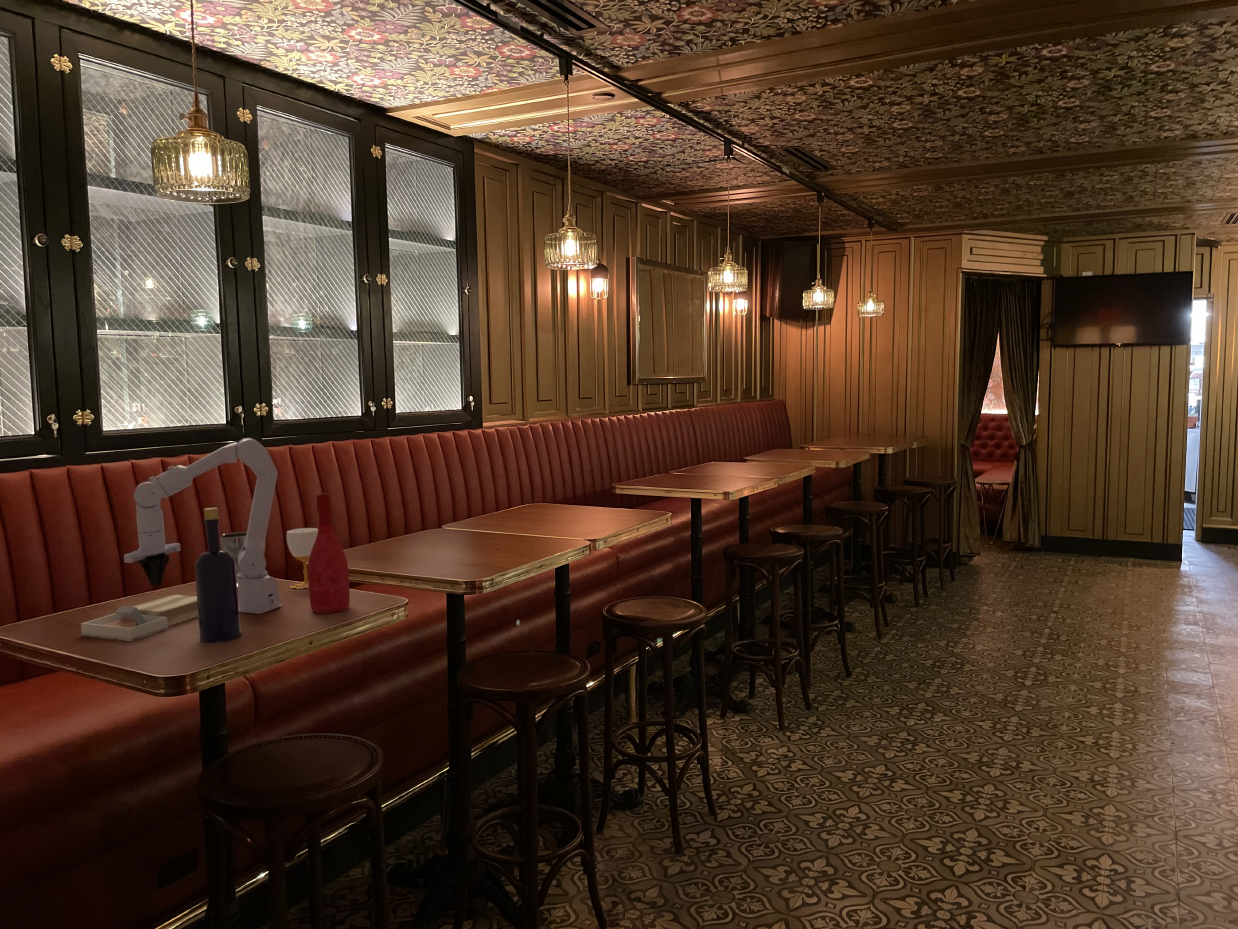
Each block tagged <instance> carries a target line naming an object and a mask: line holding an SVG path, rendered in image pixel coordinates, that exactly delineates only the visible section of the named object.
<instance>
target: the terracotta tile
mask: <svg viewBox="0 0 1238 929" xmlns="http://www.w3.org/2000/svg"><path fill="white" fill-rule="evenodd" d="M105 625H108V626H117V627H127V628H132V627H135V626H136V621H127V620H118V621H115V622H112V623H108V624H105Z"/></svg>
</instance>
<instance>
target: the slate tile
mask: <svg viewBox="0 0 1238 929" xmlns="http://www.w3.org/2000/svg"><path fill="white" fill-rule="evenodd" d="M115 613H117V615H118V616H119V618H120V619H121V620H127V621H136V626H138V625H142V624H145V623H147V622H146V620H145V619H144V617H143V616H142V615H141V613H140V612H139V610H138V609H137V607H133V606H128V605H127V606H126V605H121V606H120V607H119V608H117V609H116V610H115Z"/></svg>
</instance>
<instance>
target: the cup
mask: <svg viewBox="0 0 1238 929" xmlns="http://www.w3.org/2000/svg"><path fill="white" fill-rule="evenodd" d="M317 534H318V528H315V527H303V528H302V527H301V528H293V529H290V530H287V531H286V542H287V547H288V549H289V552H290V553H291V555H292V557H294V559H296V560H298V561H300V562H302V565H303V577H304V578H303V580H304V581H299V582H298V583H303V584H308V564H307V562H308V561H309V557H310V553H311V550H312V547H313V545H314V542H315V540H316V537H317ZM294 584H295V583H294ZM303 584H295V585H297V586H299V585H300V586H301V585H303ZM291 585H292V584H291ZM291 585H289V588H290V589H292V588H298V589H297V590H300V589H299V588H304V587H296V586H293V585H292V586H291ZM306 588H307V587H306ZM308 588H309V585H308Z"/></svg>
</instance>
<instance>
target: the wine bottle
mask: <svg viewBox="0 0 1238 929" xmlns="http://www.w3.org/2000/svg"><path fill="white" fill-rule="evenodd" d="M331 505H332V504H331V496H330V494H329V493H327V492H322V493H318V494H317V495H316V512H317V513H318V527H317V529H318V534H317V537H316V540H315V542H314V545H313V547H312V550H311V553H310V557H309V560H308V561H307V562H308V563H307V581H308V585H309V589H308V593H309V594H308V595H309V602H310V603H309V604H310V610H311V611H312V612H314V613H316V614H333V613H338V612H342V611H345V610H346V609H348V608H349V607H350V602H351V600H350V578H349V576H350V575H349V564H348V560H347V557H346V554H345V552H344V549H343V547H342V546H341V543H340V542H339V539H338V538H337V536H336V534H335V532H334V529H333V526H332V521H331V518H332V517H331V512H332V506H331Z"/></svg>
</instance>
